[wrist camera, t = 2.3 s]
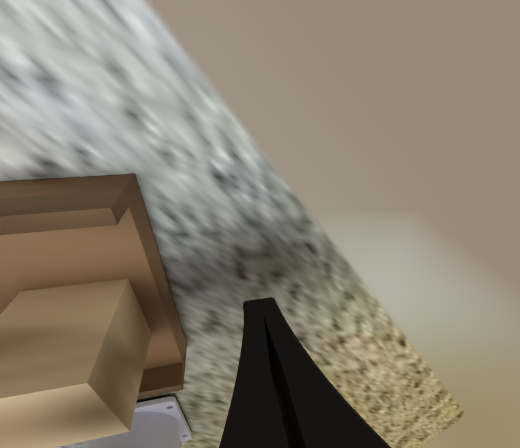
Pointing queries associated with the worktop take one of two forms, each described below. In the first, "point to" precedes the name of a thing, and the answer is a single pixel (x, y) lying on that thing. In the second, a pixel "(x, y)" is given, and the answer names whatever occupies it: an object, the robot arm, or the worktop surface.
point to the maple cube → (70, 364)
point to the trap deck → (92, 255)
